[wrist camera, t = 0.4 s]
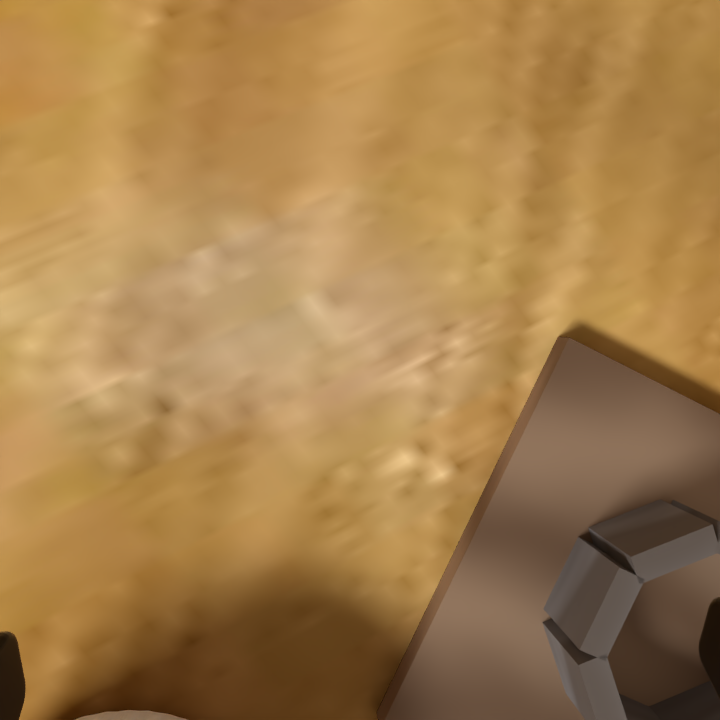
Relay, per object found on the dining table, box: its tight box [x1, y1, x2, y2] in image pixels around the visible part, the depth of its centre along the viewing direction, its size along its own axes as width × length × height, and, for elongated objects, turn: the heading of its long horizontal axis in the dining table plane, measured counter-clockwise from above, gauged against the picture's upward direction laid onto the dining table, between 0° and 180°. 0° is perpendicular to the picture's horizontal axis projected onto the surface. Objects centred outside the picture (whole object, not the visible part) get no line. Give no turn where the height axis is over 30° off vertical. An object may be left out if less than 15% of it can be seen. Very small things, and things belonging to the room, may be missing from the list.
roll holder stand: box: [377, 337, 720, 720], centre depth 23 cm, size 16×16×4 cm
